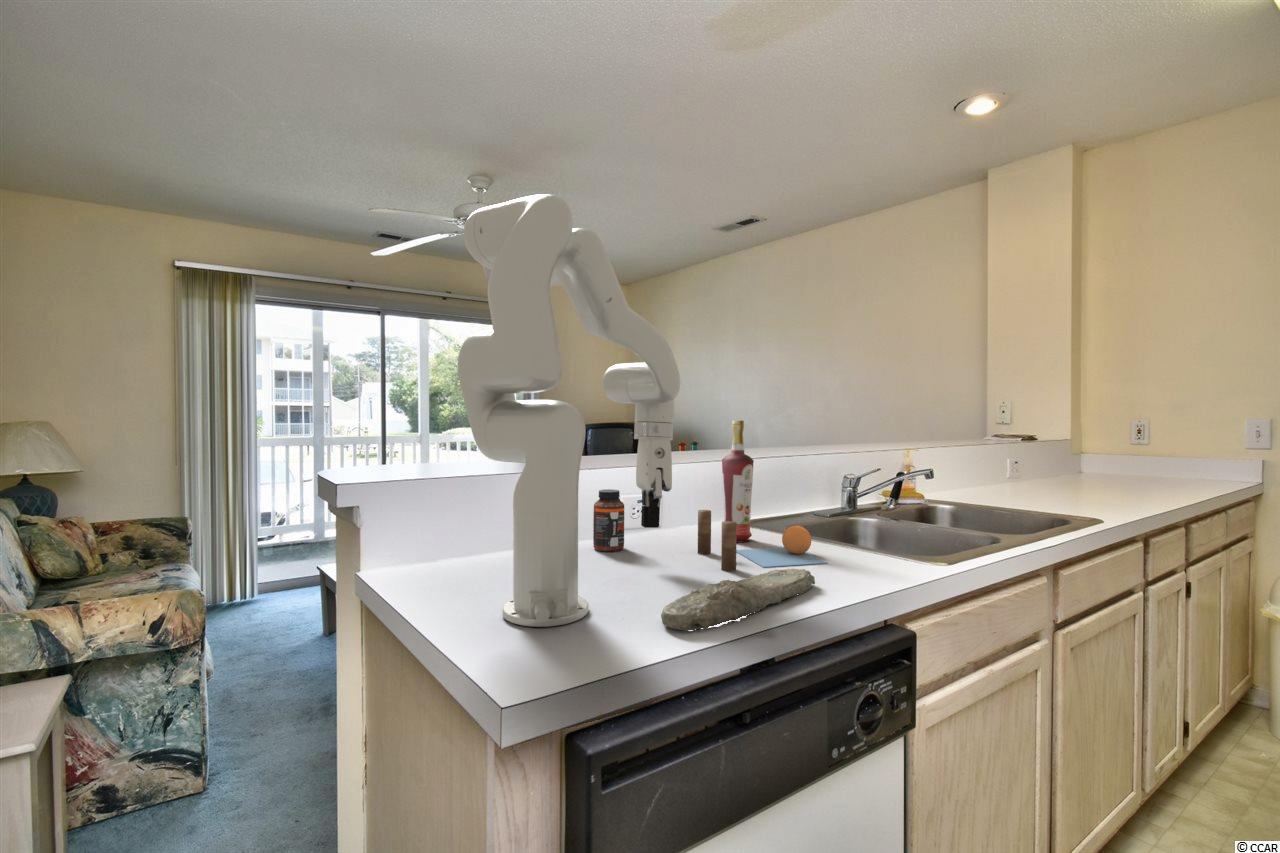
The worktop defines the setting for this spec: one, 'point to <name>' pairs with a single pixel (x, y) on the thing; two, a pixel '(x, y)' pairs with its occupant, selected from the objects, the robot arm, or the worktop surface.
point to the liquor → (738, 484)
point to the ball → (796, 540)
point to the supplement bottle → (608, 522)
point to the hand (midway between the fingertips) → (650, 526)
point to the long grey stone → (734, 598)
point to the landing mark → (778, 557)
